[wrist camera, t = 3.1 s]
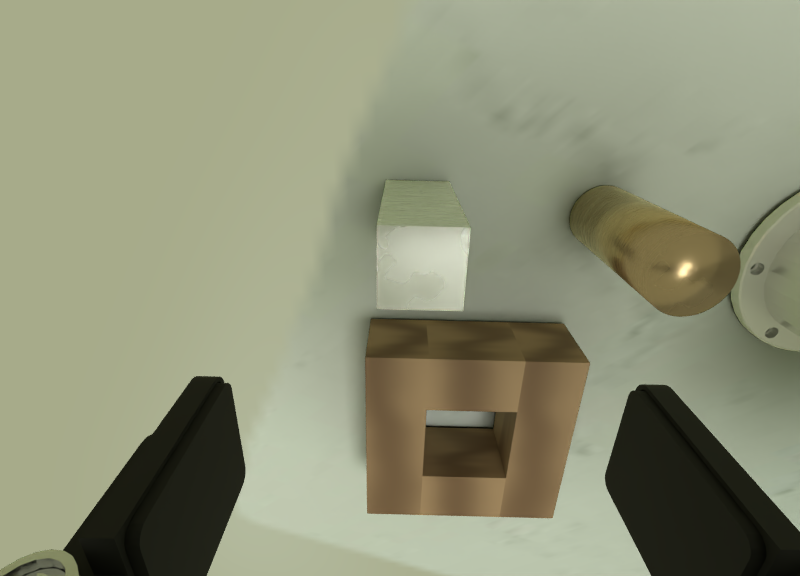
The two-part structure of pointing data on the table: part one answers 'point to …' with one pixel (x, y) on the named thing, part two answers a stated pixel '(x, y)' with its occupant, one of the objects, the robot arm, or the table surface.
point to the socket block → (470, 391)
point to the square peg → (421, 247)
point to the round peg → (656, 250)
